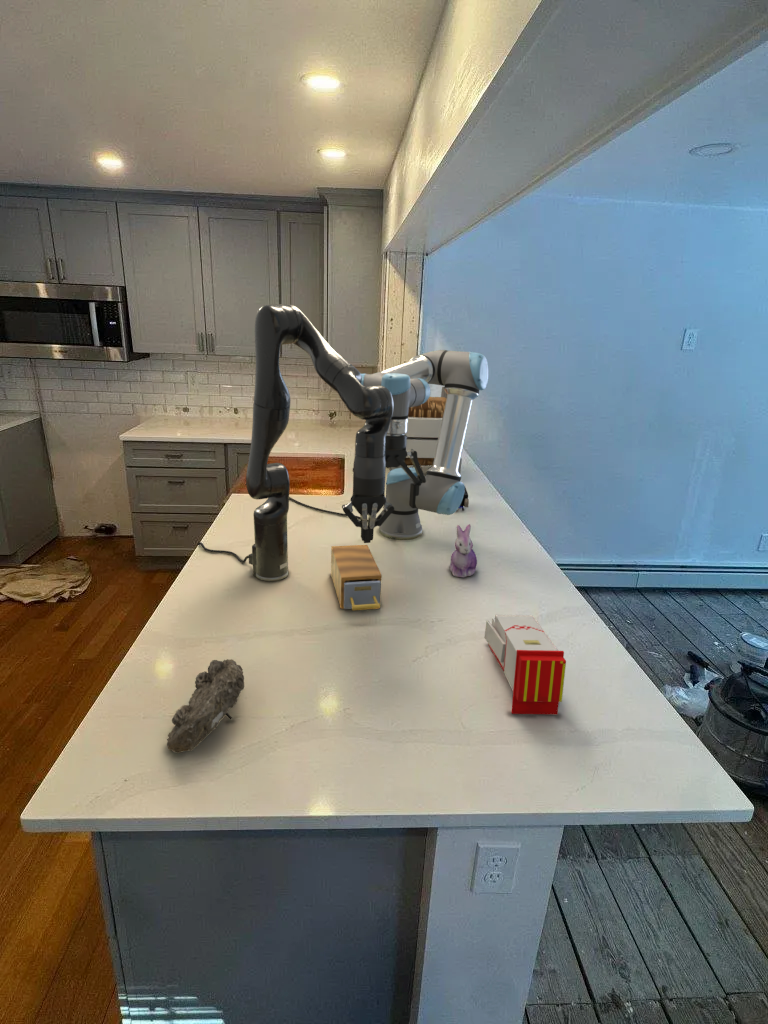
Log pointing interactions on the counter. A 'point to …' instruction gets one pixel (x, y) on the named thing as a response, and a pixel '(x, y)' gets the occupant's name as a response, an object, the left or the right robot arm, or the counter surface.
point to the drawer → (362, 594)
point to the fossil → (206, 705)
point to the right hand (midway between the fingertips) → (389, 508)
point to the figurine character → (464, 500)
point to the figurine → (463, 554)
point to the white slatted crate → (425, 430)
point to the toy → (527, 663)
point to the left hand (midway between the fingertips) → (366, 541)
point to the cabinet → (352, 567)
